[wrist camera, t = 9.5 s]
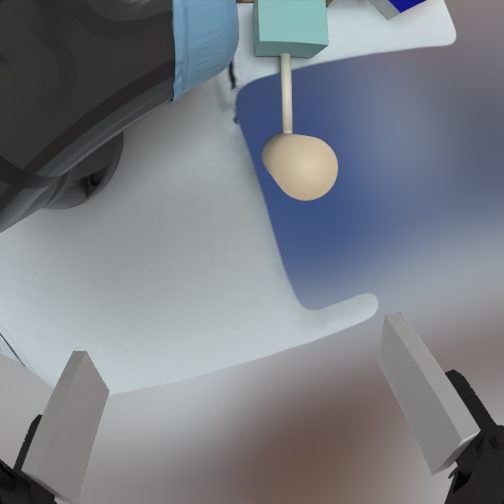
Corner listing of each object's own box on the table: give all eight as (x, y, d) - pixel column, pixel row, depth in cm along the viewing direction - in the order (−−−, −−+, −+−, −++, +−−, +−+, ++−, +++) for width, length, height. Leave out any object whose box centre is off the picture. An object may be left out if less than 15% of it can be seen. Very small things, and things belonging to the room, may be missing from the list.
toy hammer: (257, 178, 32) (268, 201, 23) (252, 9, 24) (260, -31, 15) (312, 177, 33) (342, 199, 23) (307, 12, 25) (335, -24, 16)
